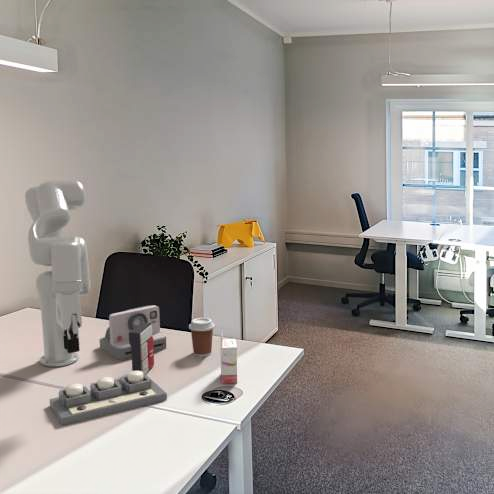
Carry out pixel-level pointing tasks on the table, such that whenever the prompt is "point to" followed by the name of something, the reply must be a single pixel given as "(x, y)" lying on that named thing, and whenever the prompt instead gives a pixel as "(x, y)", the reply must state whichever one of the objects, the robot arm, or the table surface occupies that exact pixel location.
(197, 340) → the coffee cup
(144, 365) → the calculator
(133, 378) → the button
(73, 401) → the switch panel
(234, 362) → the ink cartridge box
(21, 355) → the table surface
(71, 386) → the button
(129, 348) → the instant camera
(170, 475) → the table surface
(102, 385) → the button
